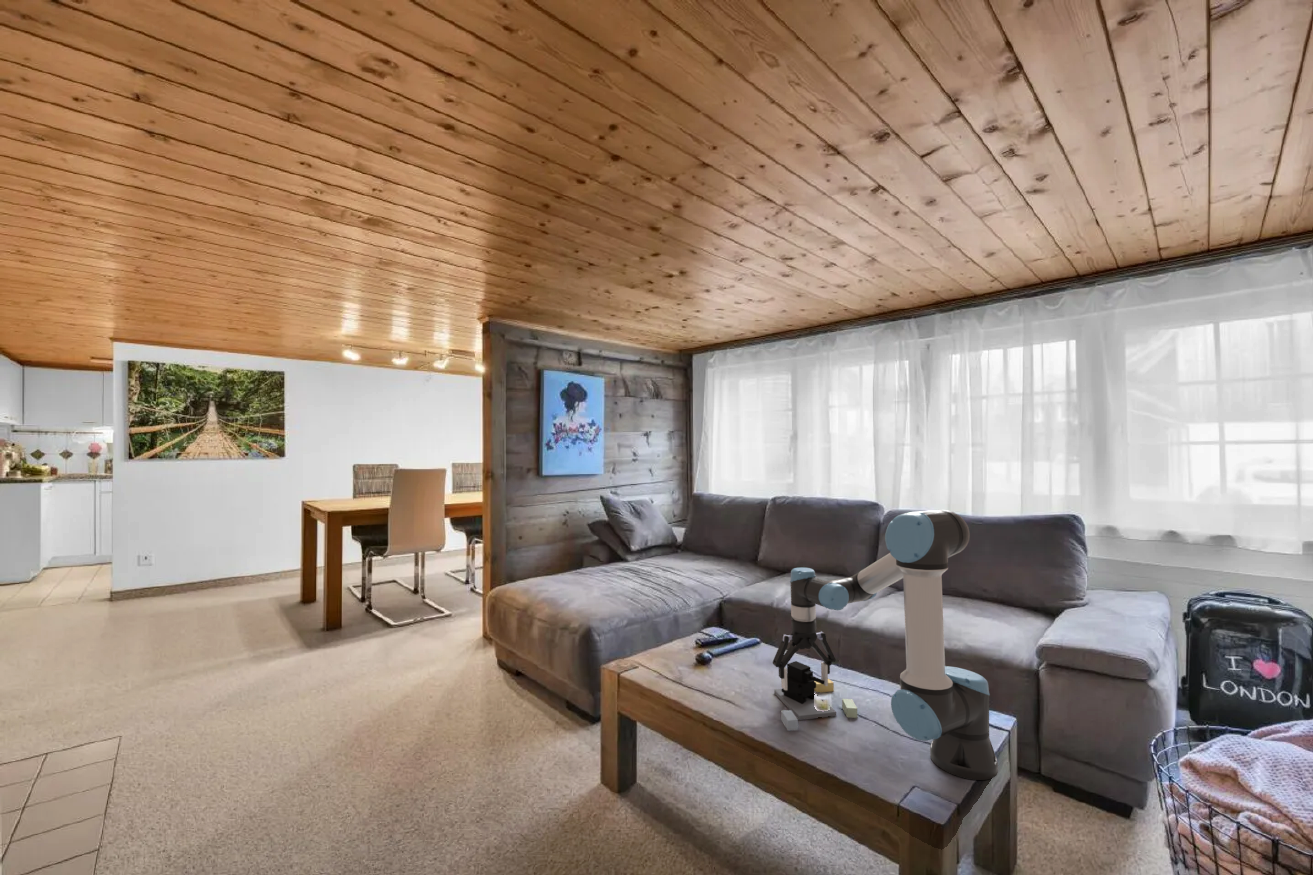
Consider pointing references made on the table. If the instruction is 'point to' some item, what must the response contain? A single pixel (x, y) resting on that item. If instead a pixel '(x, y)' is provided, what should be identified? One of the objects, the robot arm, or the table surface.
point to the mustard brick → (824, 687)
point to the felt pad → (803, 707)
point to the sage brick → (849, 708)
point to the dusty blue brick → (789, 720)
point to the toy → (800, 682)
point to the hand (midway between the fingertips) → (804, 686)
